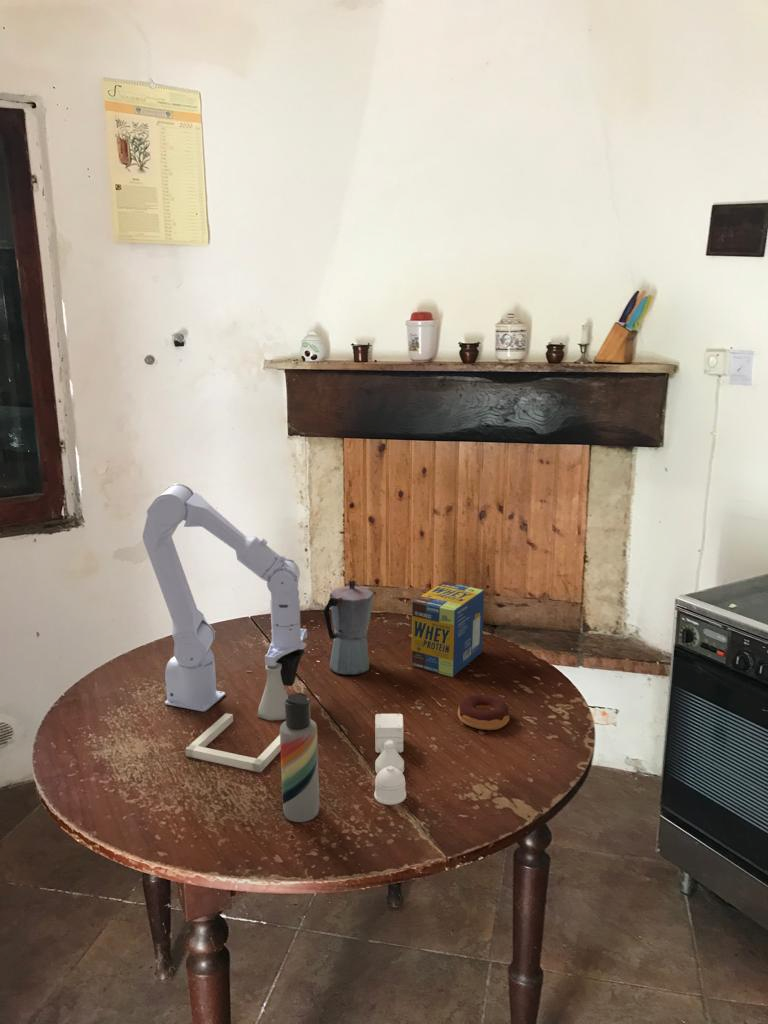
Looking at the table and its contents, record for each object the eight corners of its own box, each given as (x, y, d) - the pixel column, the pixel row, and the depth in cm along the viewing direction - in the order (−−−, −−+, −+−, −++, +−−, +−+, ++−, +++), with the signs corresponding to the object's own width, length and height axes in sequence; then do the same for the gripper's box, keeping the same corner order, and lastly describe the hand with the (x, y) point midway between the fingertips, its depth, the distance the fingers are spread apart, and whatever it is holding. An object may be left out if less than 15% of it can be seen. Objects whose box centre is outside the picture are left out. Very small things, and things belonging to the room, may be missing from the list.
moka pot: (386, 660, 180) (386, 576, 175) (347, 687, 167) (345, 597, 162) (351, 651, 185) (350, 569, 180) (310, 676, 172) (308, 589, 167)
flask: (287, 723, 153) (285, 675, 151) (251, 720, 155) (249, 672, 152) (298, 705, 160) (297, 659, 158) (264, 702, 162) (262, 656, 159)
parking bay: (186, 756, 142) (185, 748, 142) (226, 720, 155) (225, 713, 154) (260, 772, 137) (260, 764, 137) (296, 734, 149) (295, 726, 149)
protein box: (410, 667, 177) (410, 601, 173) (443, 642, 190) (444, 580, 186) (453, 678, 172) (454, 610, 168) (483, 652, 184) (485, 588, 180)
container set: (374, 740, 148) (374, 713, 146) (403, 740, 148) (403, 713, 146) (374, 806, 128) (373, 775, 127) (406, 805, 128) (406, 775, 127)
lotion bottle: (283, 802, 129) (279, 688, 124) (319, 800, 129) (316, 687, 124) (282, 824, 123) (277, 706, 118) (319, 822, 124) (316, 705, 119)
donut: (519, 719, 155) (520, 701, 154) (489, 739, 148) (490, 720, 147) (477, 702, 161) (478, 684, 160) (446, 720, 154) (447, 702, 153)
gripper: (287, 638, 150) (289, 703, 154) (319, 611, 163) (321, 672, 167) (253, 633, 153) (257, 697, 156) (288, 606, 166) (290, 667, 169)
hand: (288, 684), depth 162 cm, fingers closed
